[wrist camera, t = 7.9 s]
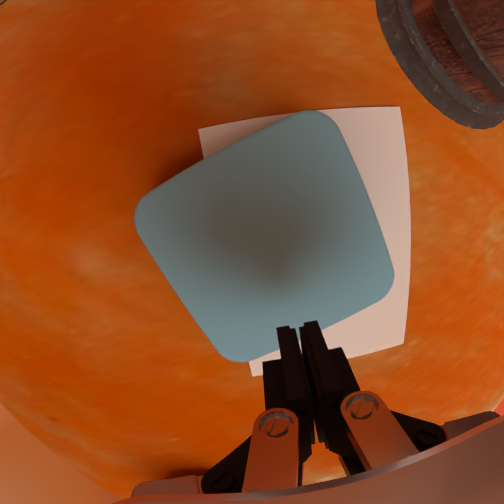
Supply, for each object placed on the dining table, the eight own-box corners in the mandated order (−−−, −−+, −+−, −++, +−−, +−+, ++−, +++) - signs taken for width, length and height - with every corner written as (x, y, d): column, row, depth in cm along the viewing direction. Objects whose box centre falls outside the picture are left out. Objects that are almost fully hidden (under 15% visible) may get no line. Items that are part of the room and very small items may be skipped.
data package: (233, 332, 23) (374, 264, 21) (230, 370, 18) (401, 290, 17) (147, 196, 19) (308, 110, 17) (121, 209, 15) (325, 99, 13)
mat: (199, 129, 18) (198, 129, 18) (397, 107, 17) (399, 106, 17) (252, 373, 25) (252, 376, 24) (401, 341, 24) (403, 343, 24)
